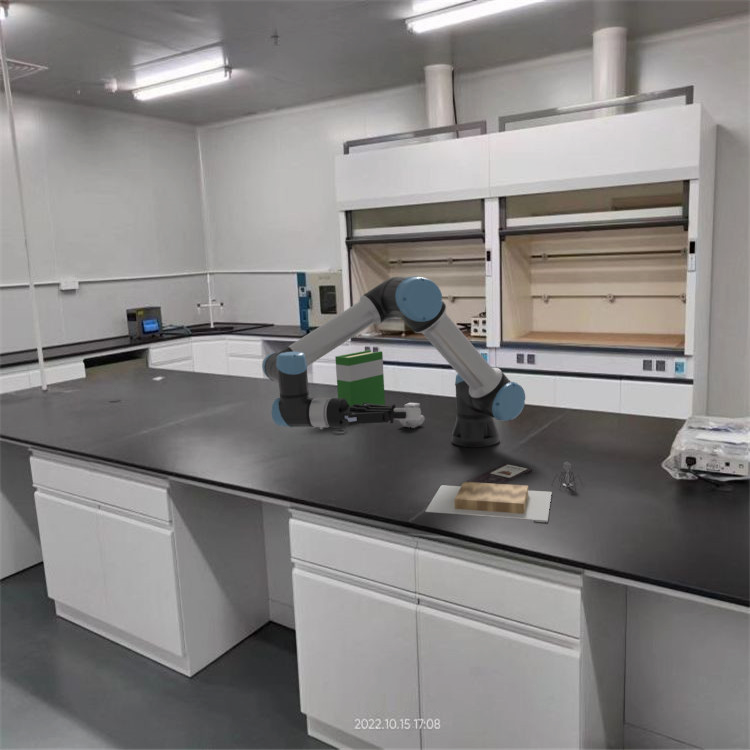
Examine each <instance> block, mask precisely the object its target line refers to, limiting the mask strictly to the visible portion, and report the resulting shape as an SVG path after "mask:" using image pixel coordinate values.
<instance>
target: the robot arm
mask: <svg viewBox="0 0 750 750" xmlns="http://www.w3.org/2000/svg"><path fill="white" fill-rule="evenodd" d="M442 294H443V293H442V292H441V289H440V287H439V286H438V284H436V282H434V281H433V280H431V279H429V278H428V277H427V278H426V277H423V276H416V275H415V276H393V277H390V278H388V279H386V280H385V281H383V282H381V283H380V284H377V285H376V286H375V287H373V288H372V289H370V290H369V291H367V292H365V293H364V294H363V295H361V296H360V298H359V301H358V302H357V303H355V304H353V305H351V307H348V308H347V309H345V310H343V311H342V312H341V313H340V314H339V313H338V314H337V315H336V316H334V317H332V318H331V319H329V320H328V321H326V322H325V323H323V324H322V325H319V326H318V327H316V328H315V329H314V330H312V331H311V332H309V333H307V334H306V335H304V336H303V337H301V338H300V339H298V340H296V341H295V342H293V343H291V344H290V345H288V346H287V347H285V348H284V349H282V350H279V351H278V352H273V353H270V354H268V355H266V357H264V359H263V361H262V365H261V366H262V372H263V374H264V375H265V376H266V377H267V378H268V379H269V380H270V381H273V382H275V383H277V384H278V388H279V397H278V398H277V397H276V399H274V401H273V402H272V404H271V411H270V412H271V419H272V421H273V423H274V424H275V425H276V426H280V427H286V428H287V427H289V428H299V427H300V428H319V429H320V430H323V429H324V428H329V427H330V428H334V429H335V428H336V429H337V428H339V429H340V428H341V429H343V428H345V427H346V426H347V425H350V426H351V425H356V424H357V425H359V424H377V423H378V424H379V423H390V424H394V421H399V420H421V415H422V410H421V409H422V408H421V407H419V408H404V407H396V404H392V405H390V404H385V405H380V404H370V403H363V405H360V404H353V406H349V405H348V402H347V401H346V399H344V398H338V397H335V398H333V397H331V398H330V397H312V398H311V397H310V393H309V391H310V390H309V380H308V379H309V378H308V367H309V366H310V365H311V364H313V363H314V362H316V361H318V360H320V359H321V358H322V357H324V356H326V355H328V354H329V353H330V352H332V351H333V350H335V349H337V348H338V347H340V346H341V345H343V344H344V343H345V342H347V341H349V340H351V339H352V338H354V337H355V336H357V335H358V334H360V333H361V332H363V331H365V330H366V329H368V328H369V327H371V326H373V325H377V326H379V325H380V324H382V323H384V322H386V321H387V320H391V319H394V318H397V319H401V320H403V322H404V323H406V325H407V326H408V327H409V328H410V330H411V331H413V332H414V333H415V334H422V335H423V336H424V337H425V338H426V340H428V341H429V342H430V344H431V345H432V346H433V348H435V349H436V350H437V352H438V353H439V354H440V355H441V356H442V357H443V358H444V360H445V361H446V362H447V363H448V364H449V365H450V367H451V368H452V369H453V370H454V371H455V372H456V373H457V374H456V375H455V382H454V386H455V404H456V409H455V410H456V420H455V422H454V427H453V428H452V429H453V430H452V432H451V442H452V444H454V445H456V446H460V447H465V448H485V447H490V446H491V447H492V446H494V445H497V444H498V443H499V442H500V432H499V429H498V427H497V425H496V422H495V419H496V420H498V421H503V422H507V421H512V420H514V419H516V418H517V417H519V415H520V414H521V413H522V411H523V409H524V407H525V404H526V403H525V402H526V392H525V389H524V388H523V386H521V385H520V384H519V383H518V382H515V381H511V380H510V379H509V378H508V377H507V375H505V373H504V372H503V371H502V370H501V369H500V368H498V367H492V366H491V365H490V364H489V362H487V360H486V359H485V358H484V357H483V355H482V354H481V353H480V352H479V351H478V349H476V347H475V346H474V345H473V344H472V343H471V342H470V340H469V339H468V338H467V337H466V335H465V334H464V333H463V332H462V331H461V330H460V328H458V326H457V325H456V324H455V323H454V321H452V319H451V317H449V315H448V314H447V313H446V310H447V305H446V303H445V302H444V301H443V295H442ZM389 421H390V422H389Z"/></svg>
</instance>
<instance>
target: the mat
mask: <svg viewBox="0 0 750 750" xmlns="http://www.w3.org/2000/svg"><path fill="white" fill-rule="evenodd" d="M461 486H462V485H461ZM461 486H459V485H443V484H442V485H440V487H439V488H438V490H437V491H436V493H435V495H434V496H433V498H432V499H431V501H430V503H429V505H428V506H427V508H426V509H425V510H424V511H425V513H434V514H435V513H438V514H451V515H464V516H478V517H479V516H480V517H491V518H492V517H493V518H503V519H506V518H507V519H516V520H517V519H518V520H520V519H521V520H530V521H531V520H532V521H533V522H534V523H545V522H546V523H548V521H549V516H550V510H551V509H550V507H551V503H550V502H551V501H552V496H551V495H552V494H553V492H552V491H544V490H542V491H541V490H530V489H528V498H527V502H526V506H525V510H524V514H522V513H508V512H494V511H480V510H466V509H455V497H456V495H457V494H458V492H459V490H460V488H461ZM549 509H550V510H549Z"/></svg>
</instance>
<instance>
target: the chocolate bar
mask: <svg viewBox="0 0 750 750" xmlns="http://www.w3.org/2000/svg"><path fill="white" fill-rule="evenodd" d="M532 472H533V469H531V468H526V467H521V466H517V465H512V464H507V463H502V464H500V465H499V466H496V467H493V468H491V469H489V470H487V471H486V472H483V473H481V474H478V475H477V476H475V477H473V478H471V479H469V480H467V481H466V482H476V483H493V484H508V483H509V482H511V481H513V480H515V479H517V478H518V477H521V476H522V475H528V474H531V473H532Z"/></svg>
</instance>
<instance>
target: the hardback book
mask: <svg viewBox="0 0 750 750" xmlns="http://www.w3.org/2000/svg"><path fill="white" fill-rule="evenodd" d="M335 370H336V387H337V398H344V399H346V401H347V402H348V405H349V406H353V404H360V405H363V403H370V404H380V405H386V399H385V398H386V397H385V395H386V394H385V376H384V356H383V350H382V351H380V350H379V351H375V352H372V350H370V349H368V350H363V351H358V352H352V353H348V354H341V355H336V356H335Z"/></svg>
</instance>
